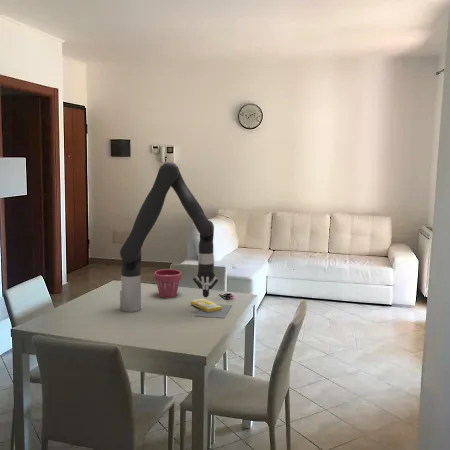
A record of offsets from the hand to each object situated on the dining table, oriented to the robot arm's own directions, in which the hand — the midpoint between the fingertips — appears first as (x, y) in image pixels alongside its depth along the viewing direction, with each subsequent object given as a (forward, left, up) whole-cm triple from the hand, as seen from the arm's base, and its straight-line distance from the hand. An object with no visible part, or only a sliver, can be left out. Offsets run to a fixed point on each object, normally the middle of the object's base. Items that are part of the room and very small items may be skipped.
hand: (205, 296), depth 244 cm
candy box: (-4, +1, -5) cm, 7 cm away
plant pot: (-25, +20, -7) cm, 33 cm away
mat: (+4, 0, -7) cm, 8 cm away
